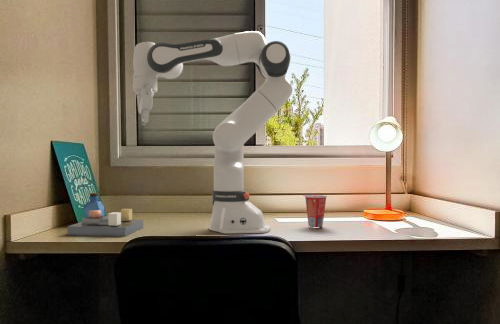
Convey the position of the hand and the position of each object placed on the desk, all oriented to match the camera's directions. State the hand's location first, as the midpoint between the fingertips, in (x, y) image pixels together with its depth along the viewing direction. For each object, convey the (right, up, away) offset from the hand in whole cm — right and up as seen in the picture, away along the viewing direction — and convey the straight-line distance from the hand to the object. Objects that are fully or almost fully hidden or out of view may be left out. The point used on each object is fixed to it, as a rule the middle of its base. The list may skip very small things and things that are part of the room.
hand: (145, 123), depth 137 cm
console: (-11, -39, -7) cm, 41 cm away
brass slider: (-6, -36, -3) cm, 36 cm away
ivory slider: (-7, -36, -12) cm, 38 cm away
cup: (+64, -39, +3) cm, 75 cm away
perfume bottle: (-23, -39, +9) cm, 46 cm away
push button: (-15, -34, -8) cm, 38 cm away
